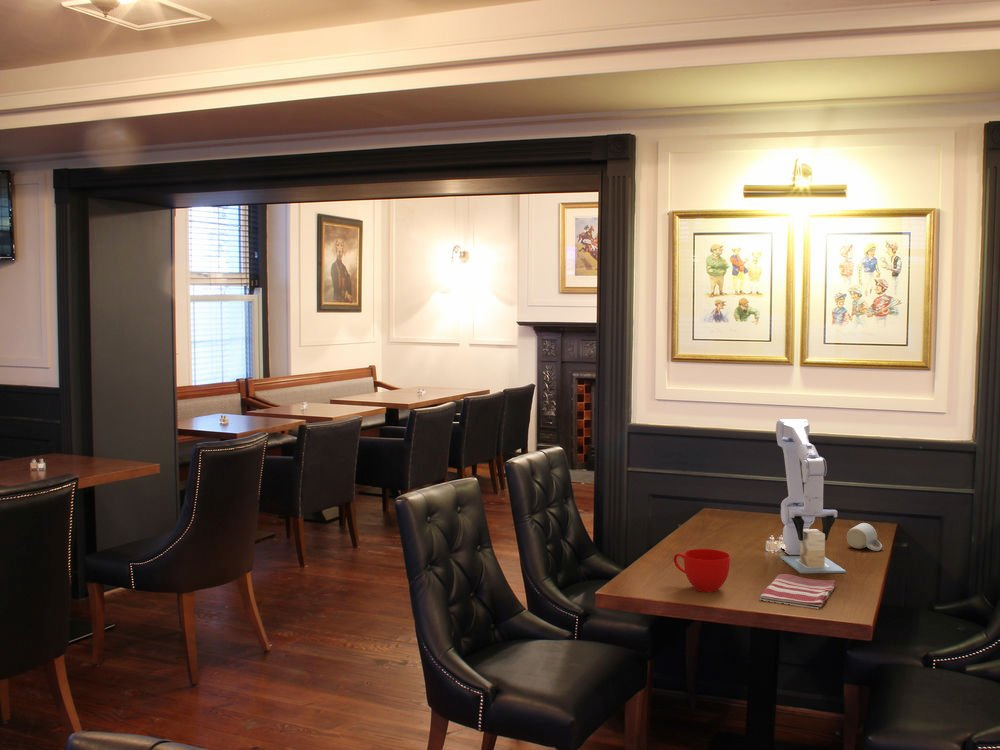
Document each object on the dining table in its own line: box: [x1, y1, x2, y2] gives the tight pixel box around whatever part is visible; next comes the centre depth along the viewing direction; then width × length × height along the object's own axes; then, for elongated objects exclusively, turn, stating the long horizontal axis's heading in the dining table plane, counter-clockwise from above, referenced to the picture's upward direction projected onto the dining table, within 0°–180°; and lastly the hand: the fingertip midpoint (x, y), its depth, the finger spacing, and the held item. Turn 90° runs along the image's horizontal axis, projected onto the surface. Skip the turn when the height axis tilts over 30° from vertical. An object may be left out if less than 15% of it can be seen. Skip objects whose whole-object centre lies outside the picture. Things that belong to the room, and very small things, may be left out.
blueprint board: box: [779, 555, 847, 574], centre depth 296 cm, size 18×14×1 cm
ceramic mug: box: [846, 522, 883, 552], centre depth 317 cm, size 11×8×8 cm
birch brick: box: [801, 528, 826, 551], centre depth 296 cm, size 7×5×5 cm
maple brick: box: [799, 546, 826, 566], centre depth 296 cm, size 7×5×5 cm
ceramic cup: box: [673, 548, 731, 593], centre depth 272 cm, size 13×17×10 cm
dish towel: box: [758, 573, 836, 610], centre depth 267 cm, size 17×23×3 cm
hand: (812, 539), depth 296 cm, fingers open, 7 cm apart
